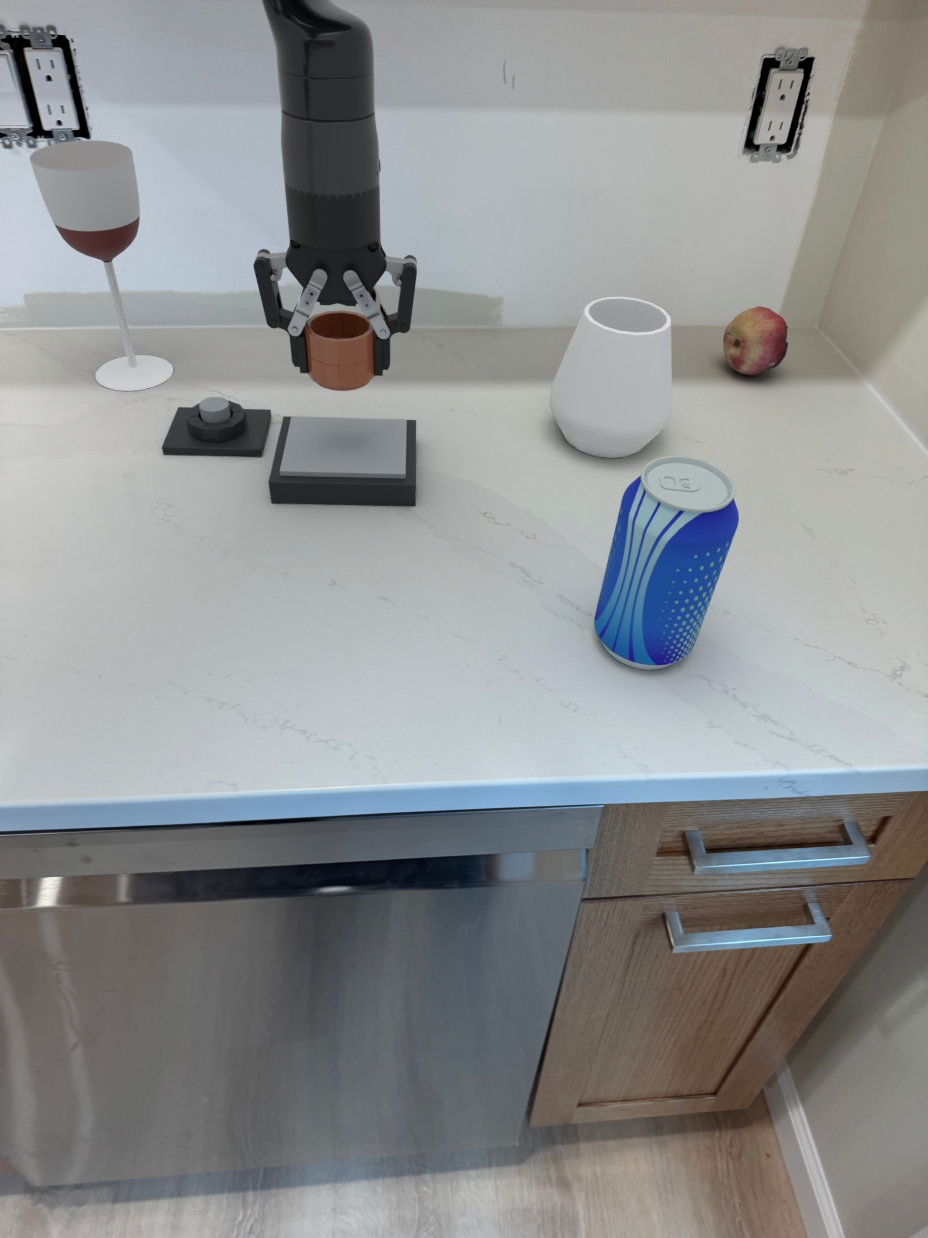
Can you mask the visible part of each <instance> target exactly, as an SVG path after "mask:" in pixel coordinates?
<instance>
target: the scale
mask: <svg viewBox="0 0 928 1238" xmlns="http://www.w3.org/2000/svg"><path fill="white" fill-rule="evenodd" d="M275 447H276V448H275V452H274V456H273V460H272V465H271V469H270V474H269V478H268V489H269V495H270V496H269V498H270V503H271V504H298V505H299V504H301V505H302V504H305V505H347V506H348V505H351V506H353V505H355V506H399V507H401V506H402V507H403V506H405V507H407V506H408V507H416V502H417V501H416V500H417V499H416V498H417V420H416V419H404V418H403V419H402V418H400V419H399V418H370V417H369V418H367V417H365V418H364V417H362V418H361V417H332V416H331V417H329V416H328V417H327V416H324V417H323V416H289V415H287V416H286V415H284V416H283V417H282V420H281V426H280V430H279V434H278V439H277V443H276V446H275Z"/></svg>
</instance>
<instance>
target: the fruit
mask: <svg viewBox="0 0 928 1238" xmlns="http://www.w3.org/2000/svg"><path fill="white" fill-rule="evenodd" d="M788 329H789V326H788V325H787V323H786V321H785V319H784V317H782V316H781V315H780V314H778V313H777V312H776V311H774V310H772V309H771V308H770V307H769V308H768V307H764V306H758V305H757V306H755V307H751V308H748V309H746V310H743V311H741V312H739V313H738V314H737V315H736V316H735V317H734V318H733V319H732V320H731V321H730V322H729V323H728V324H727V326H726V328H725V331H724V333H723V339H722V344H723V345H722V349H723V354H724V358H725V359H726V361H727V363H728V365H729V366H730V367H731V368H732V369H733V370H734V371H736V372H738V373H739V374H742V375H745V376H758V375H760V374H762V373H763V372H765V371H770V370H772V369H775V368H776V367H779V365H780V364H781V363H782V361H783V360H784V359H785V358H786V355H787V351H788V347H789V342H787V339H788Z"/></svg>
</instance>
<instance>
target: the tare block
mask: <svg viewBox="0 0 928 1238" xmlns="http://www.w3.org/2000/svg"><path fill="white" fill-rule="evenodd" d="M226 400H227V401H228V402H229V407H230V413H231V417H230V419H228V420H227V421H225V422H221V423H206V422H204V421H203V420H202V418H201V413H200V408H199V404H200V402H199V403H197V404H195V405H193V406H191V407H189V406H188V407H187V406H178V407H177V410H176V412H175V413H174V416H173V419H172V420H171V423H170V426H169V428H168V431H167V434H166V436H165V438H164V441H163V443H162V446H161V451H162V454H163V455H178V456H179V455H182V456H183V455H185V456H219V457H220V456H221V457H223V456H226V457H262V456H263V452H264V448H265V445H266V444H265V443H266V440H267V436H268V433H269V428H270V423H271V419H272V410H271V409H264V408H262V409H261V408H244V407H242V405H241V404H240V403H237V402H234V401H232V400H228V399H226Z"/></svg>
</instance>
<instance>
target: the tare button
mask: <svg viewBox="0 0 928 1238" xmlns="http://www.w3.org/2000/svg"><path fill="white" fill-rule="evenodd" d="M227 400H228V399H226V398H224V397H222V396H209V397H207V398H204V399H202V400H201V401H200V402H199V403H200V404H199V408H200V413H201V418H202V420H203V421H204V422H206V423H221V422H225V421H227V420H228V419H230V417H231V413H230V407H229V402H228V401H227Z"/></svg>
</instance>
